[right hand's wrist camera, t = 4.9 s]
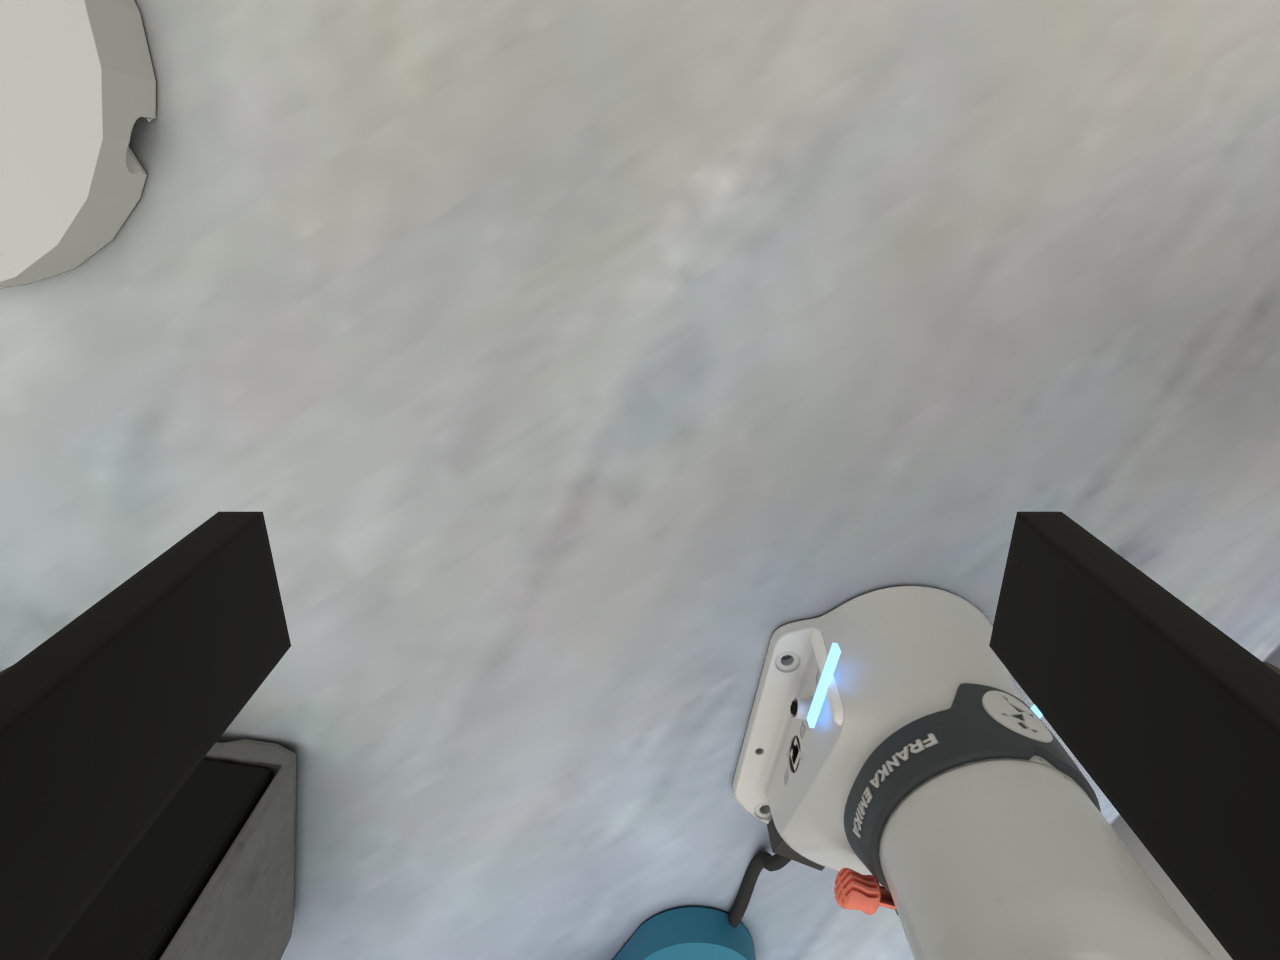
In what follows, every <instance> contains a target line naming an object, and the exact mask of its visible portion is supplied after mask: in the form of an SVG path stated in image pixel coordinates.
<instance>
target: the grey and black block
mask: <svg viewBox="0 0 1280 960" xmlns="http://www.w3.org/2000/svg"><path fill="white" fill-rule="evenodd" d="M296 767H297V756H296V754H295V753H293V752H291V751H290V750H288V749H286V748H284V747H282V746H280V745H278V744H276V743H269V742H262V741H255V740H249V739H243V740H237V741H231V742H225V743H220V742H216V743H215V744H214V745H213V747H212V748H211V749H210V751H209V752H208V753H207V754H206V756H205V757H204V758H203V760H202V761H201V762H200V763H199V765H198V766H197V767H196V769H195V770H194V771H193V772H192V774H191V775H190V776H189V778H188V779H187V780H186V781H185V783H184V784H183V785H182V787H181V788H180V789H179V790H178V792H177V793H176V794H175V796H174V797H173V798H172V799H171V801H170V802H169V803H168V805H167V806H166V807H165V808H164V810H163V811H162V812H161V814H160V815H159V816H158V817H157V819H156V820H155V821H154V823H153V824H152V825H151V826H150V828H149V829H148V830H147V832H146V833H145V834H144V835H143V837H142V838H141V839H140V841H139V842H138V843H137V844H136V846H135V847H134V848H133V850H132V851H131V852H130V853H129V855H128V856H127V857H126V859H125V860H124V861H123V862H122V864H121V865H120V866H119V868H118V869H117V870H116V871H115V873H114V874H113V875H112V877H111V878H110V879H109V880H108V882H107V883H106V884H105V886H104V887H103V888H102V889H101V891H100V892H99V893H98V895H97V896H96V897H95V898H94V900H93V901H92V902H91V904H90V905H89V906H88V907H87V909H86V910H85V911H84V913H83V914H82V915H81V916H80V918H79V919H78V920H77V922H76V923H75V924H74V925H73V927H72V928H71V929H70V931H69V932H68V933H67V934H66V936H65V937H64V938H63V940H62V941H61V942H60V943H59V945H58V946H57V947H56V949H55V950H54V951H53V952H52V954H51V955H50V956H49V958H48V959H47V960H280V959H281V957H282V955H283V953H284V951H285V949H286V947H287V944H288V942H289V940H290V938H291V933H292V926H293V920H294V882H295V824H296Z"/></svg>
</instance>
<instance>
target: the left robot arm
mask: <svg viewBox="0 0 1280 960" xmlns="http://www.w3.org/2000/svg"><path fill="white" fill-rule="evenodd" d="M992 630H993V627H992V625H991V623H990V622H989V621H988V619H987V618H986V617H985V616H984V615H983V613H982V612H981V611H979V610H978V609H977V608H976V607H975V606H974V605H972V604H971V603H969V602H968V601H966V600H965V599H963V598H961V597H959V596H957V595H955V594H952V593H950V592H947V591H944V590H940V589H936V588H931V587H924V586H897V587H890V588H884V589H880V590H876V591H872V592H869V593H866V594H863V595H861V596H858V597H856V598H854V599H852V600H850V601H848V602H846V603H844V604H843V605H841V606H839V607H837V608H836V609H834V610H832V611H831V612H829V613H827V614H825V615H823V616H820V617H818V618H813V619H807V620H802V621H797V622H793V623H789V624H786V625H784V626H781V627H780V628H778V629H777V630H776V631H775V632H774V633H773V635H772V637H771V640H770V644H769V648H768V651H767V655H766V659H765V663H764V666H763V670H762V674H761V678H760V681H759V685H758V689H757V693H756V696H755V700H754V704H753V708H752V711H751V715H750V719H749V722H748V726H747V730H746V734H745V737H744V741H743V745H742V749H741V752H740V756H739V760H738V764H737V767H736V771H735V775H734V779H733V785H732V789H733V792H734V796H735V798H736V800H737V801H738V802H739V803H740V804H741V805H742V806H743V807H744V808H745V809H746V810H747V811H748V812H749V813H751V814H752V815H753V816H755V817H756V818H758V819H759V820H761V821H763V822H764V823H766V824H768V825H767V827H768V832H769V837H770V842H771V846H772V851H773V853H776V854H775V855H773V856H771V855H770V854H769V853H767V852H766V851H764V852H760V853H759V854H757V855H756V856H755V857H754V859H753V860H752V861H751V863H750V865H749V866H748V869H747V871H746V873H745V876H744V879H743V882H742V885H741V888H740V891H739V893H738V896H737V899H736V901H735V904H734V906H733V908H732V911H731V913H730V914H729V916H728V922H729V923H730V925H731V926H732V927H734V928H736V927H737V926H738V924H739V923H740V921H741V919H742V917H743V915H744V913H745V911H746V909H747V906H748V903H749V901H750V898H751V895H752V892H753V889H754V886H755V883H756V881H757V878H758V876H759V874H760V872H761V870H762V869H763V868H765V869H767V870H768V871H775V870H779V869H781V868H782V867H784V866H785V865H786V864H787V863H788V862H790V861H791V860H794V861H797V862H800V863H802V864H805V865H808V866H810V867H813V868H815V869H818V870H821V871H822V870H823V869H824V867H827V868H830V869H833V870H836V871H839V873H838V875H837V877H836V880H835V885H836V886H835V889H834V891H835V894H836V895H835V898H836V901H838V902H837V903H838V905H839V906H841V907H842V908H845V909H856V910H861V911H863V912H864V913H866V914H869V915H871V914H873V913H875V912H876V910H877V909H878V907H879V905H880V906H884V907H887V908H891V909H895V910H896V913H897V915H898V916H899V918H900V921H901V924H902V926H903V929H904V932H905V935H906V938H907V940H908V943H909V946H910V949H911V951H912V954H913V957H914V960H1216V959H1215V958H1214V957H1213V956H1212V955H1211V954H1210V952H1209V951H1208V950H1207V949H1206V948H1205V947H1204V946H1203V944H1202V943H1201V942H1200V941H1199V940H1198V939H1197V937H1196V936H1195V935H1194V934H1193V933H1192V931H1191V930H1190V929H1189V928H1188V926H1187V925H1186V924H1185V923H1184V922H1183V920H1182V919H1181V918H1180V917H1179V915H1178V914H1177V913H1176V912H1175V911H1174V909H1173V908H1172V907H1171V905H1170V904H1169V903H1168V901H1167V900H1166V899H1165V897H1164V896H1163V895H1162V893H1161V892H1160V891H1159V889H1158V888H1157V887H1156V885H1155V884H1154V883H1153V881H1152V880H1151V879H1150V877H1149V876H1148V875H1147V873H1146V872H1145V871H1144V869H1143V868H1142V867H1141V865H1140V864H1139V863H1138V862H1137V860H1136V859H1135V858H1134V856H1133V855H1132V854H1131V852H1130V851H1129V850H1128V848H1127V847H1126V846H1125V844H1124V843H1123V842H1122V840H1121V839H1120V838H1119V836H1118V835H1117V834H1116V832H1115V831H1114V830H1113V828H1112V827H1111V826H1110V824H1109V823H1108V822H1107V821H1106V819H1105V818H1104V817H1103V815H1102V814H1101V811H1100V807H1099V802H1098V799H1097V797H1096V795H1095V792H1094V791H1093V789H1092V787H1091V786H1090V784H1089V783H1088V781H1087V780H1086V778H1085V777H1084V776H1083V774H1082V773H1081V771H1080V770H1079V769H1078V767H1077V766H1076V764H1075V763H1074V761H1073V760H1072V759H1071V757H1070V756H1069V755H1068V753H1067V752H1066V751H1065V749H1064V748H1063V747H1062V745H1061V744H1060V743H1059V741H1058V740H1057V739H1056V738H1055V736H1054V735H1053V734H1052V732H1051V731H1050V730H1049V729H1048V728H1047V726H1046V725H1045V724H1044V723H1043V722H1042V721H1041V720H1040V718H1041V717H1042V716H1043V715H1042V713H1041V712H1040V711H1039V709H1038V708H1037V707H1036V706H1035V704H1034V705H1033V706H1032V707H1031V708H1029V707H1028V706H1027V705H1026V704H1025V703H1024V701H1023V699H1022V698H1021V696H1020V694H1019V692H1018V690H1017V688H1016V686H1015V684H1014V682H1013V680H1012V678H1011V675H1010V673H1009V671H1008V670H1007V668H1006V667H1005V666H1004V664H1003V663H1002V662H1001V661H1000V659H999V658H998V657H997V655H996V654H995V653H994V652H993V650H992V649H991V648H990V646H989V644H990V639H991V634H992ZM785 655H790V656H791V657H790V658H788V659H782V657H783V656H785ZM764 805H767V806H764ZM878 881H879V882H878ZM879 883H880V884H881V885H882V886H883V887H882V886H880V885H879Z"/></svg>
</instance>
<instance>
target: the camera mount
mask: <svg viewBox="0 0 1280 960" xmlns="http://www.w3.org/2000/svg"><path fill="white" fill-rule="evenodd" d="M728 916H729V914H727V913H724V912H722V911H718V910H715V909H710V908H702V907H686V908H678V909H673V910H669V911H666V912H663V913H661V914H658V915H656V916H654V917H653V918H651V919H649V920H648V921H646V922H645V923H644V924H643V925H641V926H640V927H639V929H638V930H637V931H636V932H635V933H634V935H633V936H632V937H631V938H630V940H629V941H628V942H627V943H626V944H625V946H624V947H623V948H622V949H621V951H620V952H619V953H618V954H617V956H616V957H615V958H614V959H613V960H756V957H755V951H754V944H753V940H752V937H751V935H750V933H749V932H748V930H747V929H746V927H745V926H744V925H743V924H742V923H741V922H740V923H739V924H738V926H737V927H736V928H734V927H732V926H731V925H730V923H729V922H728Z"/></svg>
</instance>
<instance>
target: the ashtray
mask: <svg viewBox="0 0 1280 960" xmlns="http://www.w3.org/2000/svg"><path fill="white" fill-rule="evenodd" d="M139 117H144V118H146V119H147V120H148V122H150V121H151V120H152V119H156V80H155V76H154V71H153V67H152V63H151V58H150V54H149V50H148V45H147V41H146V36H145V32H144V28H143V23H142V19H141V15H140V11H139V9H138V7H137V5H136V3H135V1H134V0H0V288H6V287H13V286H20V285H27V284H30V283H33V282H36V281H39V280H42V279H45V278H48V277H51V276H55V275H58V274H61V273H64V272H67V271H70V270H73V269H75V268H76V267H77V266H79V265H80V264H81V263H83V262H84V261H85V260H87V259H88V258H89V257H91V256H92V255H93V254H95V253H96V252H97V251H99V250H100V249H101V248H103V247H104V246H105V245H107V244H108V243H109V242H111V241H112V240H113V238H114V237H115V235H116V234H117V232H118V231H119V229H120V228H121V226H122V225H123V223H124V222H125V220H126V219H127V217H128V216H129V214H130V213H131V211H132V210H133V208H134V207H135V205H136V204H137V202H138V201H139V199H140V197H141V194H142V190H143V187H144V183H145V180H146V176H147V174H146V173H145V171H144V170H143V168H142V166H141V165H140V163H139V162H138V160H137V158H136V157H135V155H134V154H133V152H132V150H131V149H130V147H129V146H128V145H129V142H130V136H131V131H132V128H133V125H134V123H135V121H136V120H137V119H138V118H139Z"/></svg>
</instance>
